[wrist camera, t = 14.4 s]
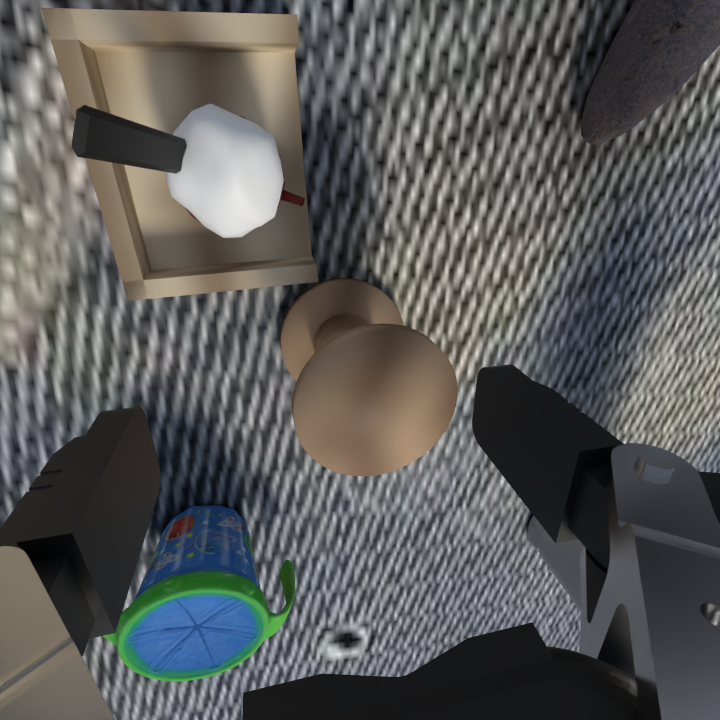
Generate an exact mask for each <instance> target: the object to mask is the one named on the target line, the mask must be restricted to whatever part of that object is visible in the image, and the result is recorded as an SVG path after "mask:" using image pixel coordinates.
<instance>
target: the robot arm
mask: <svg viewBox="0 0 720 720" xmlns="http://www.w3.org/2000/svg"><path fill="white" fill-rule="evenodd" d="M472 426H473V432H474V436H475V438H476V441H477V442H478V444H479V445H480V447H481V448H482V449H483V451H484V452H485V453H486V454H487V456H488V457H489V458H490V460H491V461H492V462H493V463H494V465H495V466H496V467H497V469H498V470H499V471H500V473H501V474H502V475H503V476H504V478H505V479H506V480H507V482H508V483H509V484H510V485H511V487H512V488H513V489H514V491H515V492H516V493H517V494H518V496H519V497H520V498H521V500H522V501H523V502H524V503H525V505H526V506H527V507H528V509H529V510H530V511H531V513H532V514H533V515H534V516H533V517H532V519H531V521H530V522H529V525H528V529H527V535H528V539H529V541H530V542H531V544H532V545H533V546H534V548H535V549H536V551H537V552H538V554H540V556H541V557H542V559H543V560H544V561H545V563H546V564H547V565H548V567H549V568H550V570H551V571H552V573H553V574H554V575H555V577H556V578H557V579H558V581H559V582H560V583H561V585H562V586H563V588H564V589H565V590H566V592H567V593H568V594H569V596H570V597H571V598H572V600H573V601H574V603H575V604H576V605H577V607H578V608H579V609H580V611H581V639H580V649H579V653H578V652H575V651H571V650H567V649H561V648H556V647H547V646H546V645H545V643H544V642H543V640H542V638H541V636H540V635H539V633H538V631H537V630H536V628H535V626H534V625H533V623H528V624H524V625H520V626H516V627H512V628H508V629H504V630H499V631H495V632H491V633H487V634H483V635H479V636H475V637H471V638H467V639H466V640H464V641H463V642H461V643H459V644H458V645H456V646H454V647H453V648H451V649H449V650H448V651H446V652H445V653H443V654H441V655H440V656H438V657H436V658H435V659H433V660H431V661H430V662H428V663H426V664H425V665H423V666H422V667H420V668H418V669H417V670H415V671H413V672H412V673H410V674H408V675H406V676H402V677H381V676H360V675H338V674H319V675H314V676H310V677H306V678H302V679H298V680H294V681H290V682H286V683H282V684H277V685H273V686H269V687H265V688H261V689H257V690H253V691H249V692H245V693H243V720H720V473H712V472H698V471H697V470H696V469H695V468H694V467H693V466H692V465H691V464H690V463H688V462H687V461H686V460H684V459H683V458H681V457H679V456H677V455H675V454H673V453H671V452H669V451H667V450H664V449H661V448H658V447H655V446H651V445H646V444H638V443H628V444H623V443H622V442H620V441H619V440H618V439H617V438H615V437H614V436H613V435H611V434H610V433H609V432H607V431H606V430H605V429H604V428H602V427H601V426H600V425H598V424H597V423H596V422H595V421H593V420H592V419H591V418H589V417H588V416H587V415H586V414H584V413H580V410H579V409H578V408H576V407H575V406H574V405H573V404H571V403H568V401H567V400H566V399H565V398H564V397H562V396H561V395H560V394H558V393H557V392H556V391H554V390H553V389H551V388H549V387H546V386H544V385H542V384H540V383H537V382H535V381H532V380H531V379H530V378H529V377H527V376H526V375H525V374H524V373H522V372H521V371H520V370H519V369H517V368H516V367H515V366H513V365H501V366H493V367H484V368H482V369H480V371H479V373H478V376H477V384H476V392H475V401H474V410H473V418H472ZM40 474H41V475H40V476H37V478H36V479H35V481H34V482H33V484H32V485H31V486H30V488H29V492H26V493H25V495H24V496H23V498H22V499H21V500H20V502H19V503H18V505H17V506H16V507H15V509H14V510H13V512H12V513H11V514H10V516H9V517H8V519H7V520H6V521H5V523H4V524H3V526H2V527H1V528H0V720H115V719H114V717H113V715H112V713H111V711H110V709H109V708H108V706H107V704H106V702H105V700H104V698H103V696H102V694H101V692H100V690H99V689H98V687H97V685H96V683H95V681H94V679H93V677H92V675H91V673H90V672H89V670H88V668H87V666H86V664H85V662H84V660H83V658H82V656H83V654H84V651H85V648H86V645H87V643H88V640H89V638H94V637H99V636H104V635H109V634H113V633H116V629H117V626H118V623H119V620H120V616H121V613H122V610H123V607H124V604H125V600H126V597H127V594H128V591H129V587H130V584H131V581H132V578H133V574H134V571H135V568H136V565H137V561H138V558H139V555H140V552H141V549H142V545H143V542H144V539H145V536H146V532H147V529H148V526H149V523H150V519H151V516H152V513H153V510H154V507H155V503H156V500H157V497H158V494H159V490H160V480H161V478H160V466H159V462H158V458H157V454H156V451H155V447H154V444H153V440H152V437H151V433H150V429H149V426H148V422H147V419H146V416H145V413H144V411H143V410H142V408H140V407H136V408H127V409H118V410H110V411H102V412H101V413H100V414H99V415H98V416H97V418H96V419H95V421H94V422H93V424H92V426H91V427H90V429H89V430H88V432H87V433H86V435H85V436H84V437H76V438H74V439H73V440H71V441H70V442H69V443H67V444H66V445H65V446H64V447H62V448H61V449H60V450H58V451H57V452H56V453H54V454H53V455H52V457H51V458H50V460H49V461H48V462H47V464H46V465H45V467H44V468H43V469H42V471H41V472H40Z"/></svg>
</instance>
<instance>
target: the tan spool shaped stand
mask: <svg viewBox="0 0 720 720" xmlns="http://www.w3.org/2000/svg"><path fill="white" fill-rule="evenodd" d="M280 343H281V351H282V356H283V360H284V362H285V365H286V367H287V369H288V371H289V372H290V374H291V375H292V376H293V378H294V379H295V380H296V381H297V382H296V384H295V388H294V392H293V398H292V414H293V420H294V425H295V430H296V433H297V436H298V439H299V441H300V443H301V445H302V446H303V448H304V449H305V451H306V452H307V453H308V454H309V455H310V456H311V457H312V458H313V459H314V460H315V461H316V462H318V463H319V464H321V465H322V466H324V467H326V468H328V469H330V470H332V471H335V472H338V473H341V474H346V475H352V476H372V475H379V474H384V473H388V472H391V471H394V470H397V469H399V468H402V467H404V466H406V465H408V464H410V463H411V462H413V461H415V460H416V459H418V458H419V457H421V456H422V455H423V454H425V453H426V452H427V451H428V450H429V449H430V448H431V447H433V445H434V444H435V443H436V442H437V441H438V440H439V439H440V437H441V436H442V435H443V433H444V432H445V430H446V428H447V427H448V425H449V423H450V421H451V419H452V416H453V414H454V410H455V407H456V402H457V380H456V376H455V372H454V369H453V367H452V365H451V363H450V361H449V360H448V358H447V357H446V355H445V354H444V353H443V352H442V351H441V350H440V349H439V348H438V347H437V346H436V345H435V344H434V343H433V342H432V341H431V340H430V339H429V338H428V337H426V336H425V335H424V334H422V333H420V332H418V331H416V330H414V329H411V328H409V327H406V326H403V322H402V318H401V316H400V313H399V311H398V309H397V307H396V306H395V304H394V303H393V302H392V300H391V299H390V298H389V297H388V296H387V295H386V294H385V293H384V292H383V291H381V290H380V289H379V288H377V287H376V286H374V285H372V284H370V283H368V282H365V281H362V280H358V279H352V278H337V279H331V280H327V281H324V282H321V283H319V284H317V285H314V286H313V287H311V288H309V289H308V290H306V291H305V292H304V293H303V294H301V295H300V296H299V297H298V298H297V299H296V300H295V301H294V303H293V304H292V305H291V307H290V308H289V310H288V312H287V314H286V316H285V318H284V321H283V324H282V328H281V335H280Z"/></svg>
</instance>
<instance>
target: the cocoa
mask: <svg viewBox="0 0 720 720" xmlns="http://www.w3.org/2000/svg"><path fill="white" fill-rule="evenodd" d="M72 148H73V150H74V152H75V153H76V155H77V157H83V158H89V159H94V160H100V161H106V162H112V163H117V164H123V165H129V166H134V167H140V168H146V169H152V170H157V171H163V172H165V177H166V180H167V184H168V187H169V190H170V193H171V196H172V198H174V199H175V200H176V201H177V202H179V203H180V204H181V205H183V206H184V207H185V208H186V210H187V211H188V212H189V213H190V215H191V216H192V217H193V218H194V219H196V220H198V221H200V222H201V223H202V224H203V225H204V226H205V227H206V228H208V229H210V230H211V231H213V232H215V233H216V234H218V235H220V236H221V237H223V238H234V237H243V236H244V235H246V234H247V233H249V232H250V231H252V230H253V229H255V228H257V227H260V226H262V225H263V224H265V223H266V222H268V221H269V220H271V219H272V218H274V217H275V215H276V211H277V208H278V207H279V204H280V201H281V200H283V201H286V202H290V203H293V204H296V205H299V206H303V204H304V201H305V199H304V198H302V197H300V196H297V195H295V194H293V193H290V192H288V191H286V190H284V186H285V180H284V174H283V167H282V161H281V156H280V155H279V153H278V150H277V146H276V142H275V138H274V136H272V135H271V134H270V133H268V132H267V131H265V130H264V129H263V128H261V127H260V126H259V125H257V124H256V123H253V122H251V121H249V120H247V119H246V118H244V117H243V116H239V115H235V114H233V113H231V112H229V111H227V110H224V109H222V108H220V107H218V106H216V105H214V104H207V105H205V106H203V107H200V108H198V109H195V110H193V111H191V113H190V114H189V115H188V116H187V117H186V118H185V119H184V121H183V122H182V123H181V124H180V125H179V126H178V128H177V129H176V130H175V131H174V133H173V135H171V134H168V133H165V132H163V131H160V130H157V129H154V128H151V127H148V126H145V125H142V124H139V123H136V122H133V121H130V120H127V119H125V118H122V117H119V116H116V115H113V114H110V113H107V112H104V111H101V110H98V109H95V108H92V107H89V106H87V105H83V106H81V107H80V108H78V109H77V110H76V117H75V124H74V132H73V140H72Z"/></svg>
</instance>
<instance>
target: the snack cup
mask: <svg viewBox="0 0 720 720" xmlns="http://www.w3.org/2000/svg"><path fill="white" fill-rule="evenodd" d="M280 580H281V582H282V587H283V591H284V595H285V599H286V605H285V607H284V608H283V610H282V611H281V612H280V613H278V614H275V613H272V612H270V611H269V608H268V605H267V601H266V599H265V596H264V594H263V592H262V591H261V589H260V585H259V580H258V574H257V568H256V565H255V561H254V554H253V549H252V545H251V541H250V536H249V531H248V528H247V526H246V524H245V522H244V519H242V518H241V517H240V516H239V514H238V512H237V511H236V510H234V509H232V508H226V507H223V506H220V505H207V506H197V505H196V506H191V507H189V508H188V509H187V510H185V511H184V512H182V513H180V514H179V515H177V516H176V517H175V518H174V519H172V520H171V521H170V522H169V524H168V525H167V526H166V528H165V529H164V531H163V533H162V536H161V538H160V541H159V543H158V545H157V548H156V549H155V552H154V555H153V557H152V559H151V562H150V564H149V567H148V569H147V571H146V574H145V577H144V579H143V581H142V584H141V587H140V589H139V592H138V593H137V595H136V597H135V600H134V602H133V603H132V604H131V605H130V606H129V607H128V608H127V609H125V610H124V611H123V612H122V613H121V616H120V620H119V623H118V626H117V629H116V633H113V634H109V635H104V636H103V637H104V638H106V639H107V640H109V641H110V642H112V643H113V644H115V645H116V646H117V648H118V653H119V655H120V657H121V659H122V661H123V662H124V663H125V664H126V665H127V666H128V667H129V668H130V669H131V670H133V671H134V672H136V673H138V674H140V675H143V676H145V677H148V678H152V679H157V680H162V681H188V680H196V679H200V678H205V677H209V676H212V675H216V674H218V673H221V672H224V671H226V670H228V669H230V668H232V667H234V666H236V665H238V664H239V663H241V662H242V661H244V660H245V659H247V658H248V657H249V656H251V655H252V654H253V653H254V652H255V651H256V650H257V648H258V647H259V646H260V645H261V643H262V642H263V640H265V639H267V638H268V637H270V636H272V635H273V634H274V633H276V632H277V630H278V629H279V628H280V627H281V625H282V624H283V622H284V621H285V619H286V617H287V615H288V613H289V611H290V608H291V606H292V603H293V599H294V593H295V574H294V568H293V566H292V563H291V561H289V560H286V561H285V562H284V563H283V566H282V568H281V571H280Z"/></svg>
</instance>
